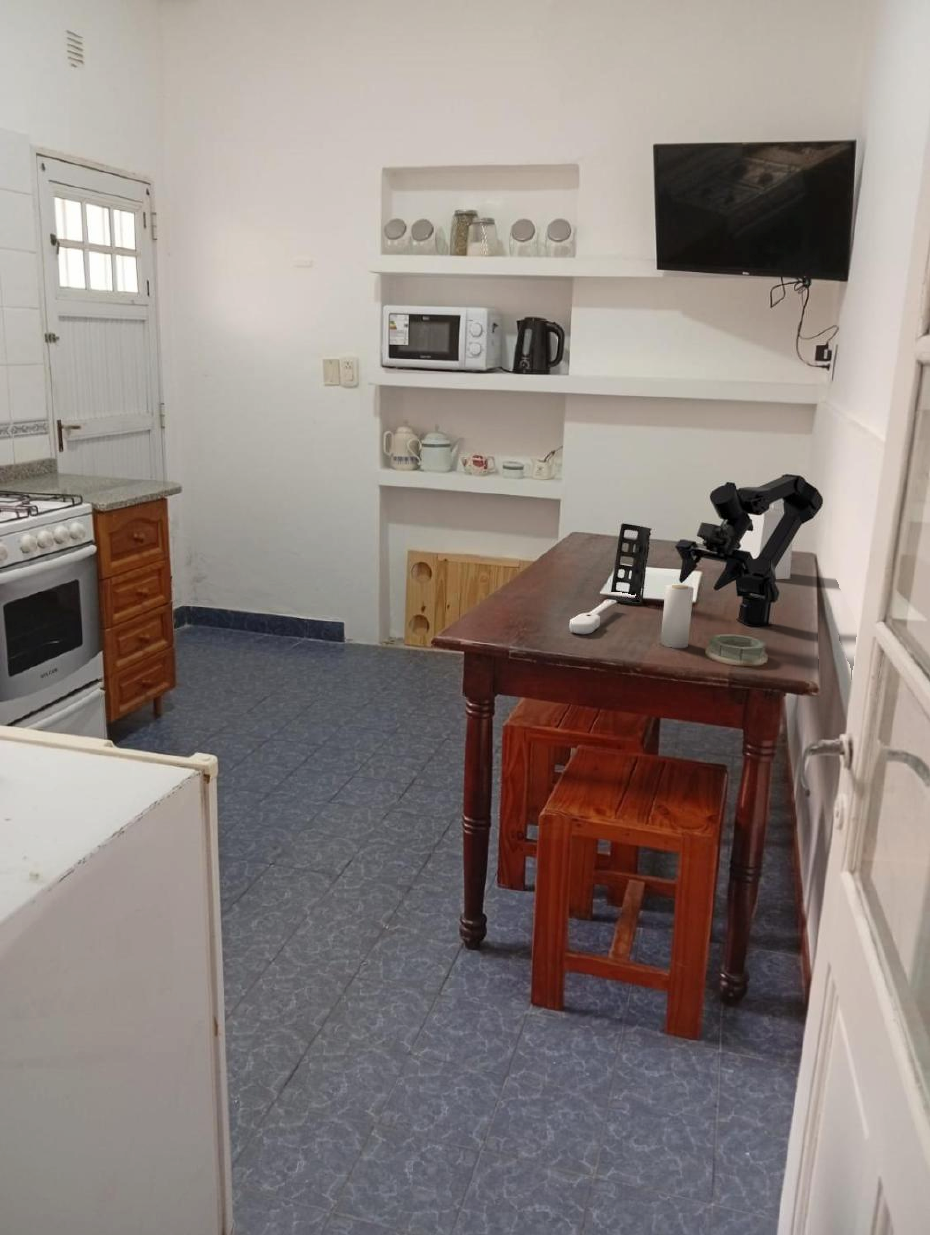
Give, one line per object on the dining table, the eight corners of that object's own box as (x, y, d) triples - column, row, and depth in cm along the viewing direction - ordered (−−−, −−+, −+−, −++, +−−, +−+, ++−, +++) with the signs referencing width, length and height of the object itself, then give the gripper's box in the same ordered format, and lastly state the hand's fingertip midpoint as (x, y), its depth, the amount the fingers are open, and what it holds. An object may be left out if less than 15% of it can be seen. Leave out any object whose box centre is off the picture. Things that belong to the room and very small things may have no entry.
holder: (600, 598, 261) (612, 522, 257) (616, 596, 266) (628, 523, 262) (636, 606, 253) (648, 529, 250) (652, 605, 259) (664, 529, 255)
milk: (766, 570, 309) (777, 487, 302) (789, 578, 298) (800, 492, 292) (733, 571, 305) (743, 487, 299) (755, 579, 295) (766, 492, 288)
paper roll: (679, 640, 225) (685, 583, 221) (692, 647, 219) (698, 589, 216) (655, 641, 223) (661, 584, 220) (668, 648, 218) (673, 590, 214)
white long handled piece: (600, 609, 250) (601, 597, 250) (622, 612, 248) (623, 601, 247) (564, 633, 226) (565, 621, 225) (588, 637, 223) (589, 625, 223)
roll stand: (746, 647, 221) (748, 632, 220) (779, 664, 209) (781, 648, 208) (694, 649, 218) (695, 634, 217) (724, 667, 206) (726, 651, 205)
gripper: (684, 504, 228) (650, 555, 224) (755, 515, 215) (721, 570, 211) (700, 535, 236) (668, 586, 231) (770, 548, 222) (737, 602, 218)
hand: (697, 585), depth 222 cm, fingers open, 9 cm apart
